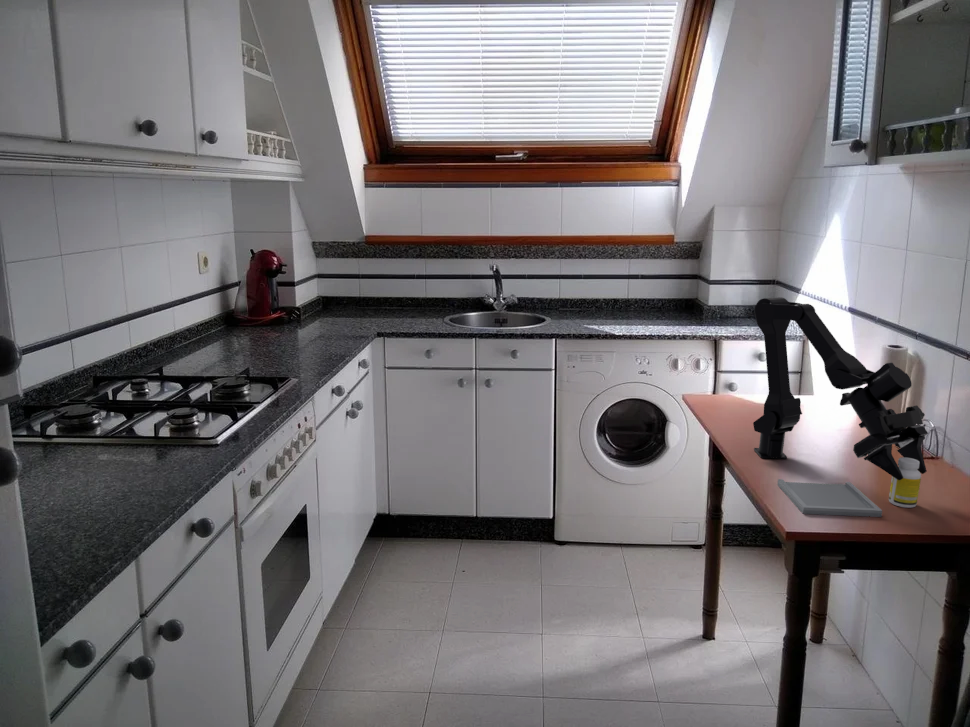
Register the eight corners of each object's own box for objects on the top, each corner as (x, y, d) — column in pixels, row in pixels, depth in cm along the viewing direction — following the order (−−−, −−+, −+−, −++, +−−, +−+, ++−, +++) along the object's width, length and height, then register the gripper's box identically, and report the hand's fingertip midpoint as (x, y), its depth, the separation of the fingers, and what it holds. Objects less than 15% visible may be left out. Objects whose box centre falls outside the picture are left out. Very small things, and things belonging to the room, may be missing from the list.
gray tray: (777, 484, 179) (778, 479, 179) (849, 487, 179) (849, 482, 179) (802, 513, 164) (803, 507, 163) (881, 517, 163) (882, 510, 163)
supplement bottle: (922, 508, 169) (929, 464, 167) (899, 509, 168) (906, 465, 166) (905, 498, 174) (911, 455, 172) (882, 499, 173) (889, 456, 171)
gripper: (874, 398, 164) (917, 465, 157) (925, 389, 174) (969, 452, 167) (835, 424, 173) (875, 489, 166) (886, 414, 182) (926, 475, 175)
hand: (913, 476), depth 168 cm, fingers open, 8 cm apart
